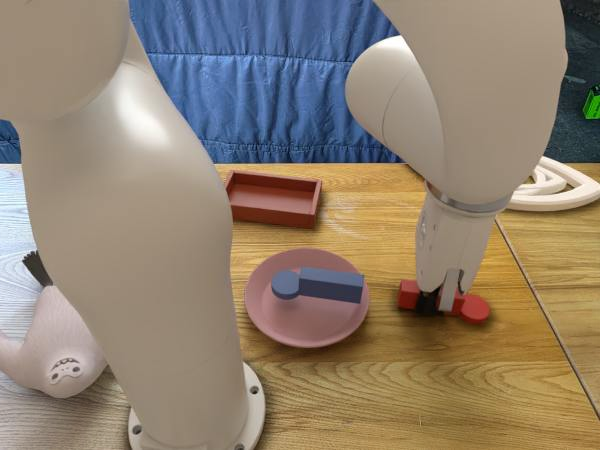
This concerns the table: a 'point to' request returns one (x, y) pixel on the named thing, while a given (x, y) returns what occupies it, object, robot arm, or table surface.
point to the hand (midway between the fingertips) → (428, 303)
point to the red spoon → (463, 306)
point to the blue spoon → (318, 285)
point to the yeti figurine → (52, 344)
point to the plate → (302, 302)
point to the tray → (273, 198)
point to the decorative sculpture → (554, 188)
